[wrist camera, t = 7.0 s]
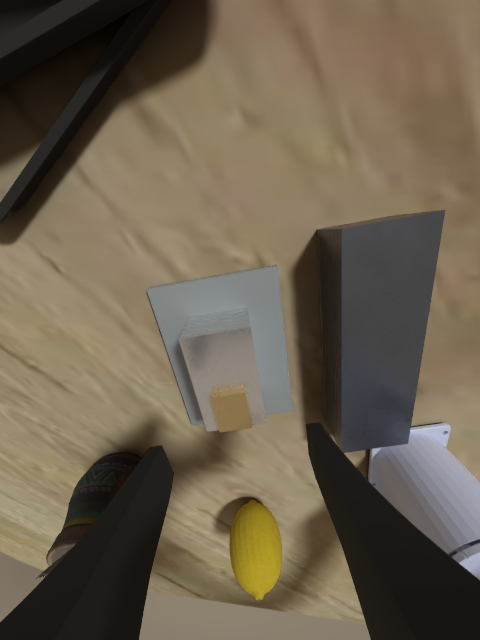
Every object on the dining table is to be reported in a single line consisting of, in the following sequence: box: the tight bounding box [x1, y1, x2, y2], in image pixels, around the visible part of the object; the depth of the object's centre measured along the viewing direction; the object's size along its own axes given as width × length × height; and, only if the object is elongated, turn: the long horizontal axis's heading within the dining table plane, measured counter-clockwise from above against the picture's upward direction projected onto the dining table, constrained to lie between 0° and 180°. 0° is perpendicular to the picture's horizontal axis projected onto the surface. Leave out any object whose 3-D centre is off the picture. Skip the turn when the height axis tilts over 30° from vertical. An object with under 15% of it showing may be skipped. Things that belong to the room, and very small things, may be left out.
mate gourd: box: [37, 453, 141, 578], centre depth 20 cm, size 7×8×10 cm
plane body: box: [317, 210, 445, 453], centre depth 17 cm, size 18×6×4 cm, turn 10°
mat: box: [146, 265, 293, 426], centre depth 19 cm, size 14×10×1 cm
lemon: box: [230, 500, 282, 600], centre depth 24 cm, size 6×6×8 cm
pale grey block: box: [179, 307, 267, 432], centre depth 17 cm, size 8×5×5 cm, turn 10°
